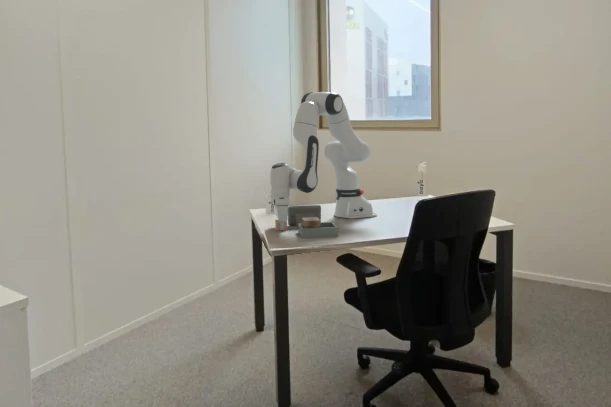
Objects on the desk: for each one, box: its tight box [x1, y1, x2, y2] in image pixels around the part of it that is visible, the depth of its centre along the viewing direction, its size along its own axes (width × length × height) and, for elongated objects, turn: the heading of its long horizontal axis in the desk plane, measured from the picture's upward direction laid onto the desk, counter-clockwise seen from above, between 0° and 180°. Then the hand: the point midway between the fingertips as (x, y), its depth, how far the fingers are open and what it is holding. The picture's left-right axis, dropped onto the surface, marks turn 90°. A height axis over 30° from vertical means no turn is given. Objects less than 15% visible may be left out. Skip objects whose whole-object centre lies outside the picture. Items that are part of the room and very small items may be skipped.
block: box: [302, 217, 320, 229], centre depth 252 cm, size 7×8×7 cm
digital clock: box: [287, 204, 322, 227], centre depth 274 cm, size 16×9×11 cm, turn 82°
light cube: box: [274, 219, 288, 232], centre depth 265 cm, size 5×5×5 cm
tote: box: [297, 221, 339, 239], centre depth 253 cm, size 16×12×5 cm
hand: (281, 227), depth 265 cm, fingers closed on light cube, 5 cm apart
